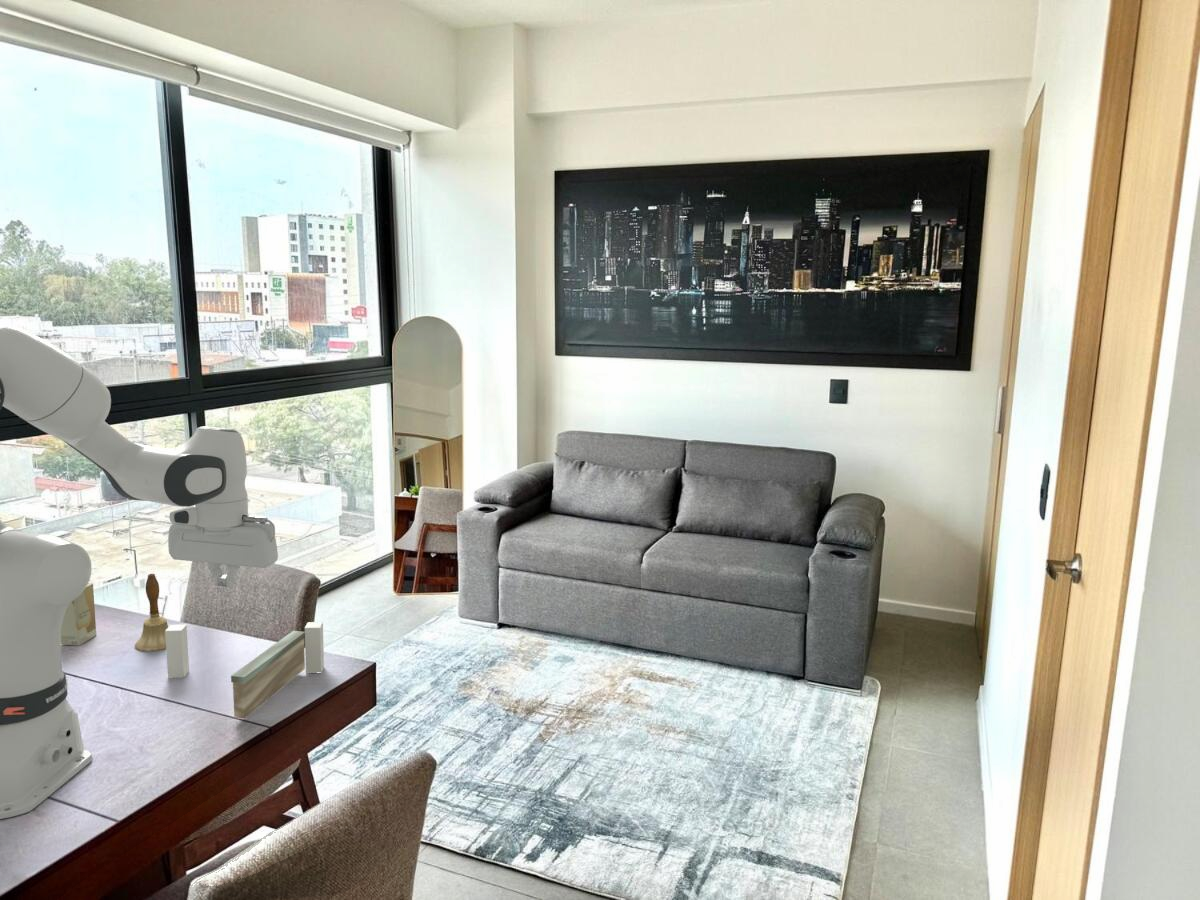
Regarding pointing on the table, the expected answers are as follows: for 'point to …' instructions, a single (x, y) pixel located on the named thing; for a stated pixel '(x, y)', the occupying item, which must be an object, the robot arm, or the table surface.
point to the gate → (267, 673)
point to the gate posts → (180, 661)
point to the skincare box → (79, 619)
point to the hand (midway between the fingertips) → (224, 585)
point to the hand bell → (153, 621)
